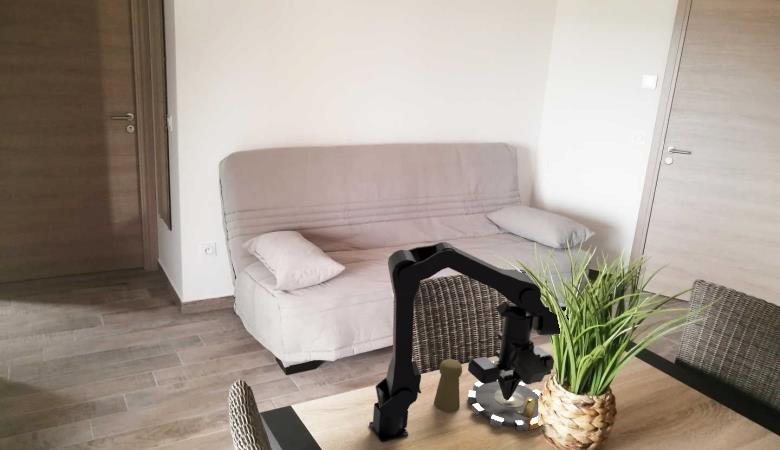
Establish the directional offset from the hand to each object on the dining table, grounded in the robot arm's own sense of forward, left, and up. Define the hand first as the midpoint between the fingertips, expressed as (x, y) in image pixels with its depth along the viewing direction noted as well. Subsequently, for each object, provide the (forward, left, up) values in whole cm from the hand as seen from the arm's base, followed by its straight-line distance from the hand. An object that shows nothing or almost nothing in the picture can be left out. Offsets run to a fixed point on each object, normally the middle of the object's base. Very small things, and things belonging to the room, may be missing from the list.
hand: (506, 399), depth 125 cm
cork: (-7, +12, -8) cm, 16 cm away
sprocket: (+6, +6, -7) cm, 11 cm away
